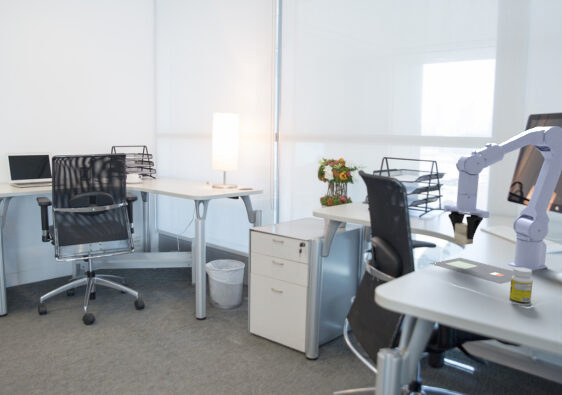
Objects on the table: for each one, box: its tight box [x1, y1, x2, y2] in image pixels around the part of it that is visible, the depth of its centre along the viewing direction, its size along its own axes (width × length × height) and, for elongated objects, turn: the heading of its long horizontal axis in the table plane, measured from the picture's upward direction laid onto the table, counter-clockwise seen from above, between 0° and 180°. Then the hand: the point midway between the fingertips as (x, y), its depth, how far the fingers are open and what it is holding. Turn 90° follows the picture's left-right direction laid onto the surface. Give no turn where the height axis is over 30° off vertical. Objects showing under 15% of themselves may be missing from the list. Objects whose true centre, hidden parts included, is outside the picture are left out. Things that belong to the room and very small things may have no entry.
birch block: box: [453, 222, 474, 246], centre depth 152 cm, size 4×4×6 cm
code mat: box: [429, 257, 514, 285], centre depth 149 cm, size 16×24×1 cm, turn 35°
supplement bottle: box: [509, 267, 534, 307], centre depth 119 cm, size 5×5×8 cm
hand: (463, 237), depth 152 cm, fingers closed on birch block, 4 cm apart
